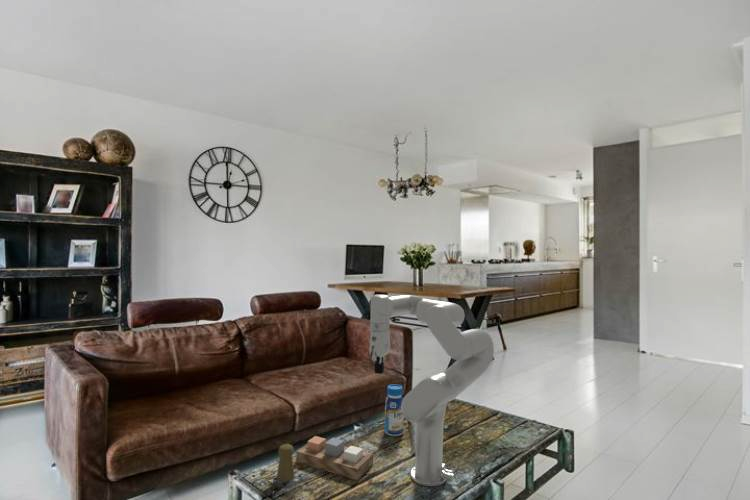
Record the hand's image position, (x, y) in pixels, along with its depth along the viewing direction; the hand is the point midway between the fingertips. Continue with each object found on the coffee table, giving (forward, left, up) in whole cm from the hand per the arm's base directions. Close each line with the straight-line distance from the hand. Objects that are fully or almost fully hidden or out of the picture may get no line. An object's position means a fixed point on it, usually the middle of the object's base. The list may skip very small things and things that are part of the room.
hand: (379, 372), depth 169 cm
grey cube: (+10, +16, -28) cm, 34 cm away
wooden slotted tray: (+10, +16, -31) cm, 36 cm away
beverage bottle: (+1, -18, -31) cm, 36 cm away
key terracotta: (+18, +16, -29) cm, 38 cm away
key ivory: (+2, +16, -29) cm, 33 cm away
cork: (+20, +32, -31) cm, 49 cm away
